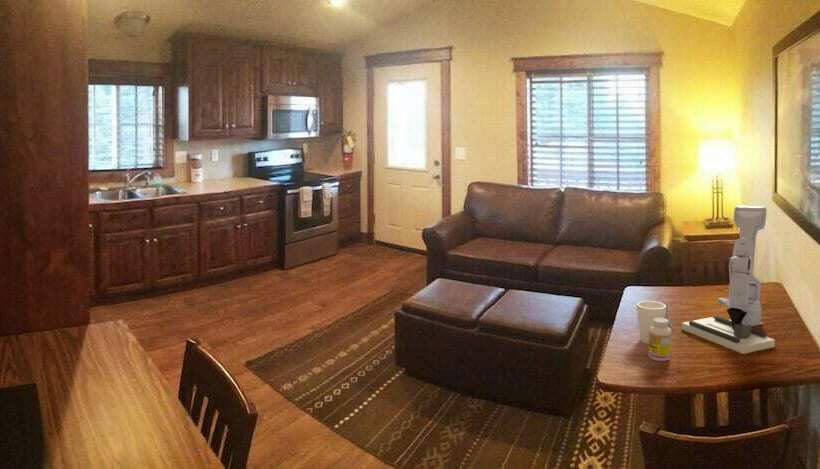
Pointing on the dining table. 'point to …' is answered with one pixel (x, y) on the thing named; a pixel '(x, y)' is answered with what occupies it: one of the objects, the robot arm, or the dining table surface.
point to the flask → (667, 316)
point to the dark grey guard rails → (722, 332)
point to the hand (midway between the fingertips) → (736, 329)
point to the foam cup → (648, 316)
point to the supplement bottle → (660, 340)
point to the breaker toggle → (742, 330)
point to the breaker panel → (743, 346)
